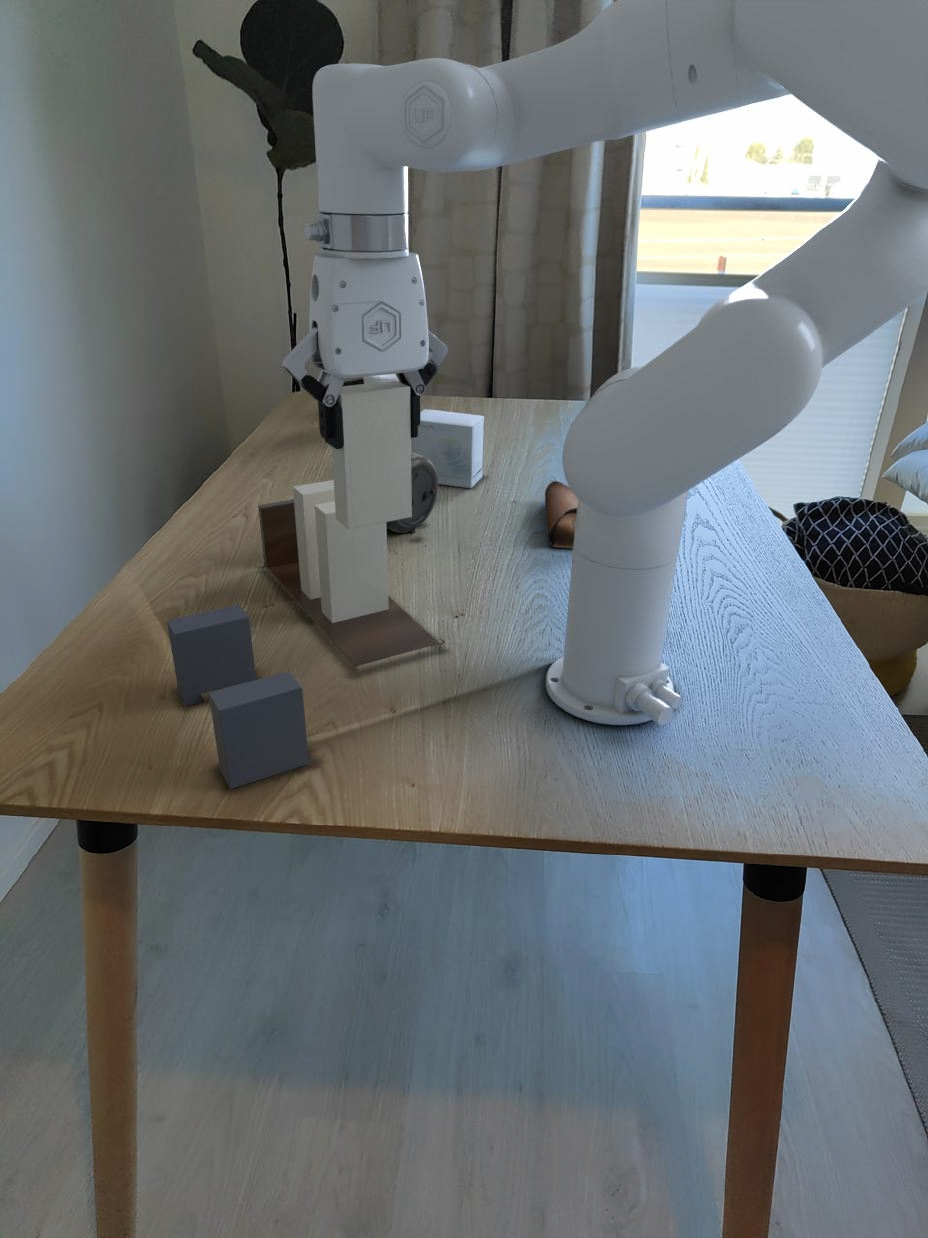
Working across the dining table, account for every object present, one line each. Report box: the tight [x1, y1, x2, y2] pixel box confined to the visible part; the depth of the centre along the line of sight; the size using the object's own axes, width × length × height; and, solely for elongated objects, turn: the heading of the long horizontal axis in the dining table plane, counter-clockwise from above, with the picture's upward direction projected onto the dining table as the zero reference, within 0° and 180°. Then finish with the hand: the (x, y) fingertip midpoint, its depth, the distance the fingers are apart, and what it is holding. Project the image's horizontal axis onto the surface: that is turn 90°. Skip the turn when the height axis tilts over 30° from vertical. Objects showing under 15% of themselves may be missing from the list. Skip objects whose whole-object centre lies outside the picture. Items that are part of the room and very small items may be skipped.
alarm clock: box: [386, 451, 439, 535], centre depth 116 cm, size 11×5×16 cm, turn 141°
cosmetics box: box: [411, 408, 485, 489], centre depth 138 cm, size 10×6×10 cm, turn 71°
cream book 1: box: [292, 479, 335, 600], centre depth 99 cm, size 3×7×13 cm, turn 120°
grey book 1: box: [166, 604, 257, 707], centre depth 83 cm, size 3×7×8 cm, turn 120°
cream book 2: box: [331, 380, 412, 529], centre depth 82 cm, size 3×7×13 cm, turn 121°
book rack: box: [257, 498, 440, 667], centre depth 98 cm, size 28×10×9 cm, turn 30°
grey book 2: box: [208, 670, 310, 790], centre depth 72 cm, size 3×7×8 cm, turn 120°
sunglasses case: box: [544, 480, 578, 550], centre depth 124 cm, size 18×7×7 cm
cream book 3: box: [315, 501, 389, 623], centre depth 95 cm, size 3×7×13 cm, turn 120°
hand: (371, 438), depth 81 cm, fingers closed on cream book 2, 7 cm apart
